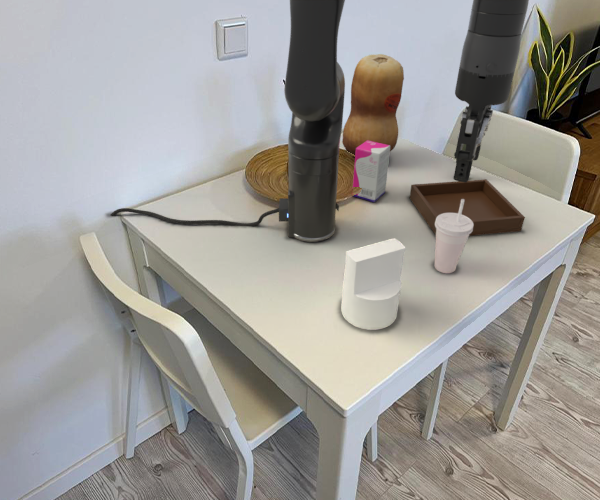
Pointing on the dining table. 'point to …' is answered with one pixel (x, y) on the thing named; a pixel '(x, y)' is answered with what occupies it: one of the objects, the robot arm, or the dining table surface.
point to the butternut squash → (374, 102)
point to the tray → (468, 205)
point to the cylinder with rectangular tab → (372, 284)
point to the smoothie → (451, 239)
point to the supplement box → (371, 170)
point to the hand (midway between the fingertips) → (465, 169)
